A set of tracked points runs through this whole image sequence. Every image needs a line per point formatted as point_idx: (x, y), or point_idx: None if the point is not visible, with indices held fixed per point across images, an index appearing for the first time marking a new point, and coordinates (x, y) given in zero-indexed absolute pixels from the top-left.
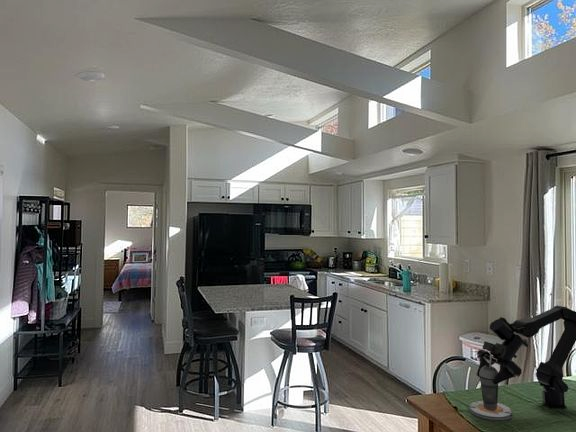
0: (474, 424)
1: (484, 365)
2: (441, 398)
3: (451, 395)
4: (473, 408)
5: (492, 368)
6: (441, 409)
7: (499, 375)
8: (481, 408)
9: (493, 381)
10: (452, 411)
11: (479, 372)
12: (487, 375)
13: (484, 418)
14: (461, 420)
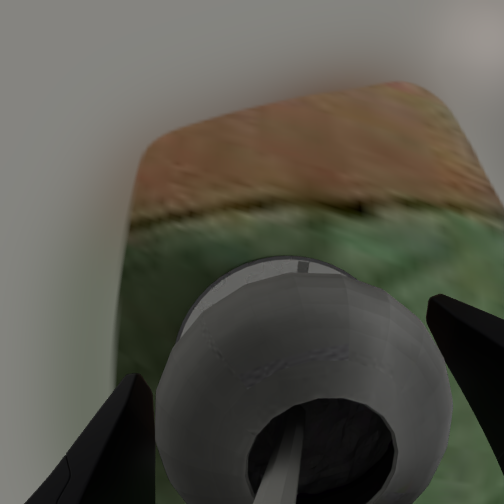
0: (153, 231)
1: None
2: (451, 187)
3: (491, 244)
4: (283, 269)
5: (213, 495)
6: (324, 144)
7: (62, 462)
8: None
9: (124, 382)
10: (303, 181)
11: (345, 276)
12: (178, 343)
13: (199, 299)
14: (199, 190)
